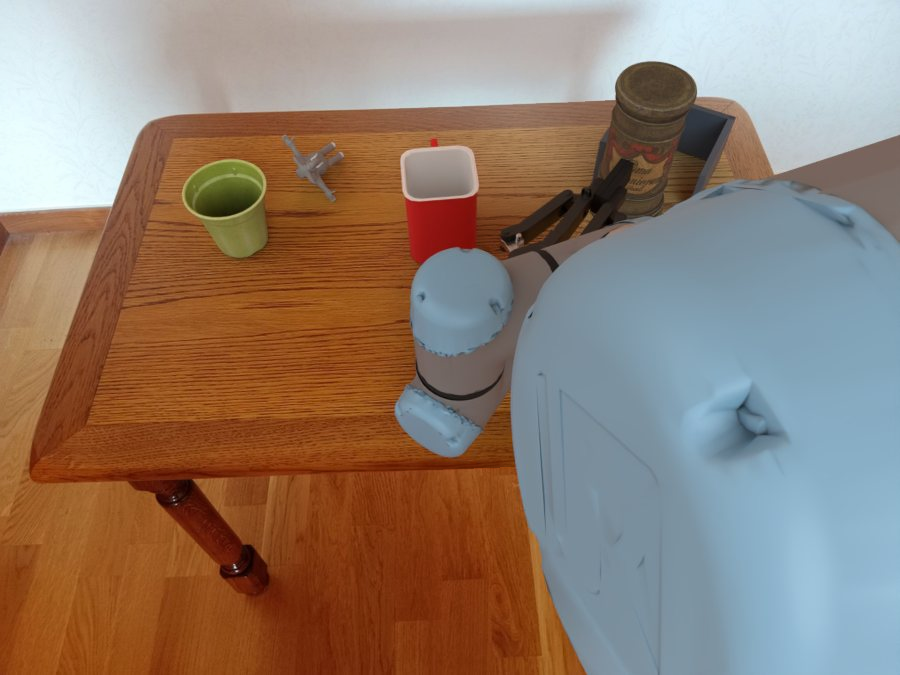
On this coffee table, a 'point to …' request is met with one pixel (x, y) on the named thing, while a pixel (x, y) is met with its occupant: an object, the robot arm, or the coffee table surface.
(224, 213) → the plant pot
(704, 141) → the grey u-shaped piece
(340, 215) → the coffee table surface
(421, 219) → the mug
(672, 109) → the container
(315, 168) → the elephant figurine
